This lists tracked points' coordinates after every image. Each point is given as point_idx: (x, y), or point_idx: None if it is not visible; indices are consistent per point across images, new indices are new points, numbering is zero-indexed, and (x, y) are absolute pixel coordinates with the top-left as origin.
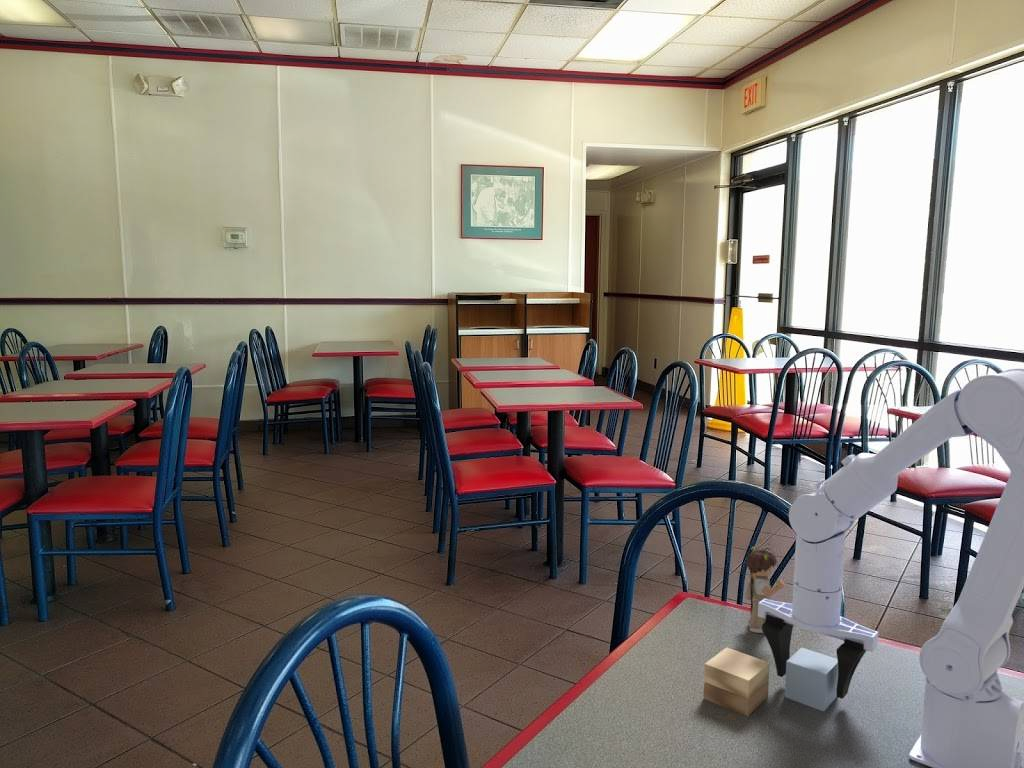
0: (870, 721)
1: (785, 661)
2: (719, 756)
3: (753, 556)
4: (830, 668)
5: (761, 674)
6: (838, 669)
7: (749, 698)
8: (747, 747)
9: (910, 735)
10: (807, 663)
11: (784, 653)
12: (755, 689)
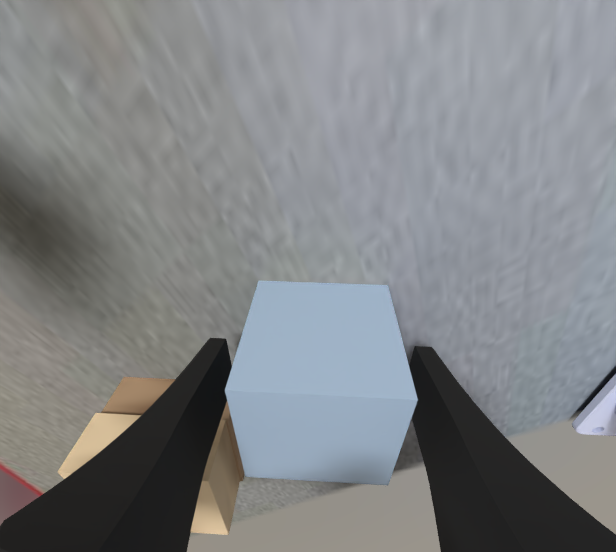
0: (491, 350)
1: (214, 394)
2: (276, 506)
3: None
4: (393, 458)
5: (221, 488)
6: (435, 508)
7: (240, 477)
8: (296, 487)
9: (597, 351)
10: (308, 462)
11: (201, 432)
12: (233, 472)
